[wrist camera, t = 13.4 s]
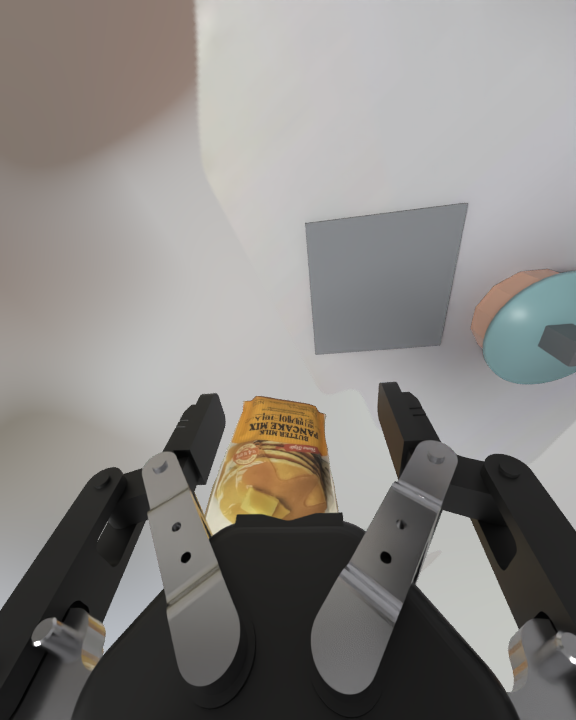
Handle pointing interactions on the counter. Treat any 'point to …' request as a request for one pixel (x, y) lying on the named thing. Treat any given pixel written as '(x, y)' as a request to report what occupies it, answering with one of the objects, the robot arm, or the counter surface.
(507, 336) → the lid
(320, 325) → the mat
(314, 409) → the pancake mix bag
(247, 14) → the counter surface
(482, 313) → the bowl
